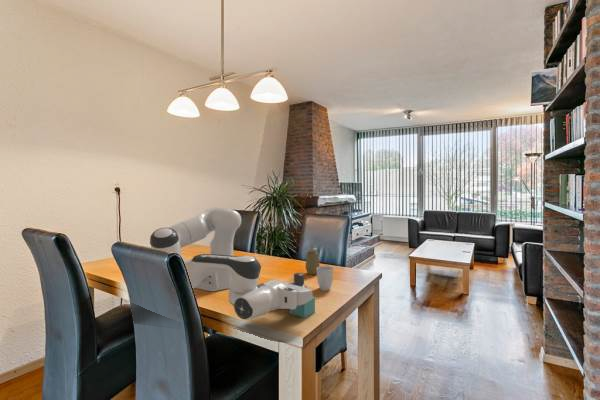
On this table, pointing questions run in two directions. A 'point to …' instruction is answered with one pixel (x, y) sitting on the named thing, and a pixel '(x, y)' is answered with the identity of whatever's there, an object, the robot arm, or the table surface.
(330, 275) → the cup
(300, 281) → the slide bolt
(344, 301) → the table surface
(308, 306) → the socket
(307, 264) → the squeeze bottle
